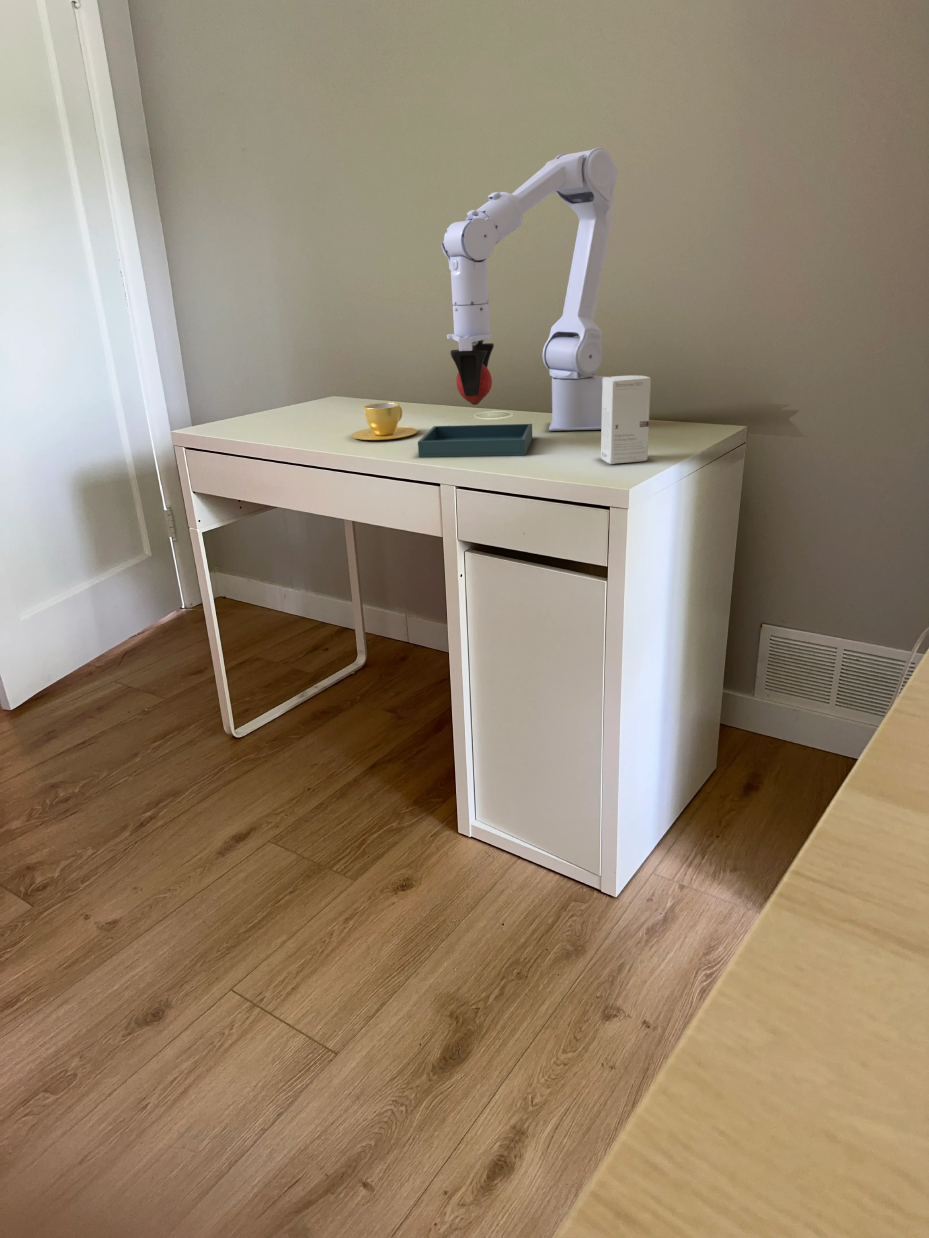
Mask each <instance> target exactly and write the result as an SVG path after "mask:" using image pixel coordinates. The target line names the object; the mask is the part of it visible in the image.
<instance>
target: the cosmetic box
mask: <svg viewBox="0 0 929 1238" xmlns="http://www.w3.org/2000/svg"><path fill="white" fill-rule="evenodd" d="M651 385H652V379H651V377H650V376H645V375H641V374H634V375H617V376H604V377H603V379H602V429H601V431H600V433H601V434H600V436H601V437H600V459H601V460H602V461H604V462H606V463H607V464H608V465H609V464H610V465H615V464H625V463H626V464H627V463H636V462H646V461H648V460H649V459H648V458H649V457H648V455H649V434H650V409H651V408H650V405H651Z"/></svg>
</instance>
